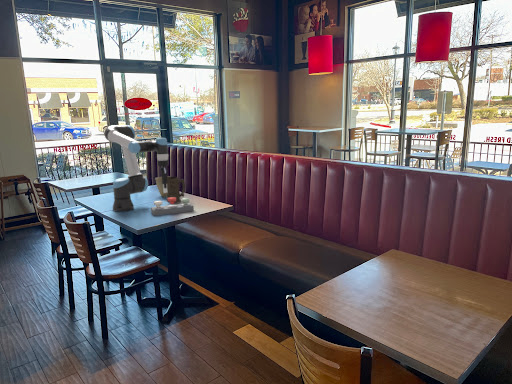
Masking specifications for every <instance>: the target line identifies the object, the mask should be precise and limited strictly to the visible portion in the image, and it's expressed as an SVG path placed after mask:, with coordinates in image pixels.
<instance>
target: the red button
mask: <svg viewBox="0 0 512 384" xmlns="http://www.w3.org/2000/svg"><path fill="white" fill-rule="evenodd" d="M174 201H176V198H175V197H170V198H168V201H167V203H168V202H169V205H175V202H174Z"/></svg>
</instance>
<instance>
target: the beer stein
mask: <svg viewBox="0 0 512 384" xmlns="http://www.w3.org/2000/svg"><path fill="white" fill-rule="evenodd" d="M180 183H181V184H182V189H181V193H180V185H179V184H180ZM185 190H186V184H185V179H184V178H182V179H179V177H178V176H167V192H168V193H167V196H166V202H168V198H170V197H175V198H176V201H174V203H177V202H181V197H182V198H185V194H184V193H185Z"/></svg>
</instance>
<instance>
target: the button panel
mask: <svg viewBox="0 0 512 384" xmlns="http://www.w3.org/2000/svg"><path fill="white" fill-rule="evenodd" d="M194 207H195V206H194V204H192V203H191V202H188V204H183V203H178V204H169V205H161V207H159V208H157V207H156V206H151V207H150V211H151V212H150V213H151V214H152V215H153V216H154V217H155V216H156V215H157V216H163V215H164V214H165V215H172V214H173V215H174V214H180V213H188V212H194V211H195V210H194V209H195V208H194Z"/></svg>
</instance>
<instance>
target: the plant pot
mask: <svg viewBox="0 0 512 384" xmlns="http://www.w3.org/2000/svg"><path fill="white" fill-rule="evenodd" d="M155 183H156V188H157V190H158V193H159V195H160V197H167V193H163V184H162V176H158V177H155Z"/></svg>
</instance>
